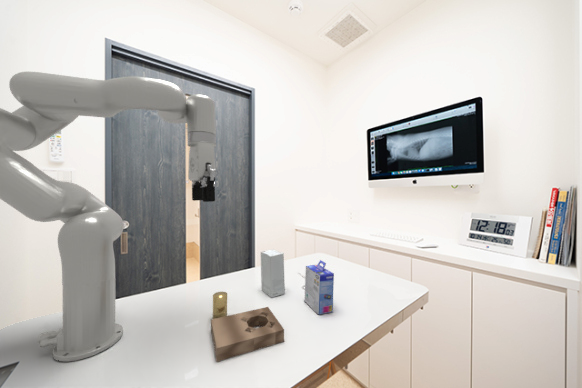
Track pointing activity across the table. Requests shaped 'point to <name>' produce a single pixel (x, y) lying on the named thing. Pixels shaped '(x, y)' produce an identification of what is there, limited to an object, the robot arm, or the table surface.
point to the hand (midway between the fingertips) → (203, 200)
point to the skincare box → (272, 272)
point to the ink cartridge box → (319, 288)
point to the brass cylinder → (219, 305)
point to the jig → (245, 333)
